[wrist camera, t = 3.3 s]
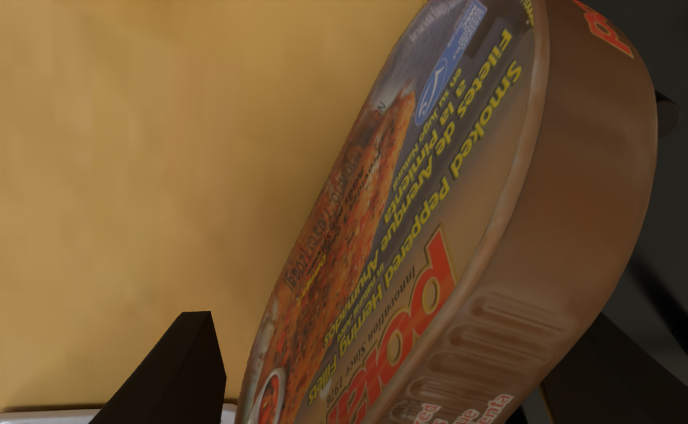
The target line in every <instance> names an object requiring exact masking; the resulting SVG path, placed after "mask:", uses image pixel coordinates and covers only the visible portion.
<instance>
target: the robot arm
mask: <svg viewBox="0 0 688 424" xmlns="http://www.w3.org/2000/svg"><path fill="white" fill-rule="evenodd" d="M226 379H227V377H226V373H225V369H224V365H223V361H222V357H221V352H220V348H219V344H218V340H217V336H216V332H215V328H214V323H213V319H212V315H211V311H199V312H182V313H181V314H180V315H179V316H178V317H177V318H176V320H175V321H174V322H173V323H172V325H171V326H170V327H169V328H168V330H167V331H166V332H165V334H164V335H163V336H162V337H161V339H160V340H159V341H158V342H157V344H156V345H155V346H154V348H153V349H152V350H151V351H150V352H149V354H148V355H147V356H146V357H145V359H144V360H143V361H142V362H141V364H140V365H139V366H138V367H137V368H136V370H135V371H134V372H133V373H132V374H131V376H130V377H129V378H128V379H127V380H126V381H125V383H124V384H123V385H122V386H121V387H120V389H119V390H118V391H117V392H116V393H115V394H114V396H113V397H112V398H111V399H110V400H109V401H108V402H107V403H106V404H105V405H104V407H103V408H102V409H82V410H58V411H34V412H10V413H0V424H234V420H235V414H236V409H237V405H234V404H229V403H226V404H223V402H224V394H225V386H226ZM543 380H544V384H545V387H546V391H547V394H548V398H549V401H550V404H551V408H552V411H553V413H554V416H555V418H556V421H557V423H558V424H688V386H686V385H685V384H684V383H683V382H682V381H680V380H679V379H678V378H677V377H675V376H674V375H673V374H672V373H671V372H669V371H668V370H667V369H666V368H665V367H663V366H662V365H661V364H660V363H659V362H657V361H656V360H655V359H654V358H653V357H652V356H650V355H649V354H648V353H647V352H646V351H645V350H644V349H642V348H641V347H640V346H639V345H638V344H637V343H636V342H634V341H633V340H632V339H631V338H630V337H629V336H628V335H627V334H625V333H624V332H623V331H622V330H621V329H620V328H619V327H618V326H617V325H615V324H614V323H613V322H612V321H611V320H610V319H609V318H608V317H607V316H606V315H604V314H603V313H602V312H600V313H599V315H598V316H597V318H596V319H595V320H594V322H593V323H592V325H591V326H590V327H589V328H588V329H587V331H586V332H585V333H584V334H583V335H582V337H581V338H580V339H579V340H578V341H577V343H576V344H575V345H574V346H573V347H572V348H571V350H570V351H569V352H568V353H567V354H566V355H565V356H564V358H563V359H562V360H561V361H560V362H559V363H558V364H557V365H556V366H555V367H554V368H553V369H552V370H551V371H550V373H549V374H548V375H547V376H546V377H545V378H544V379H543Z"/></svg>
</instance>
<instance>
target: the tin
mask: <svg viewBox="0 0 688 424" xmlns="http://www.w3.org/2000/svg"><path fill="white" fill-rule="evenodd" d="M657 145H658V117H657V104H656V98H655V91H654V86H653V83H652V80H651V78H650V75H649V72H648V69H647V67H646V65H645V63H644V61H643V60H642V58H641V56H640V55H639V53H638V51H637V50H636V48H635V47H634V46H633V45H632V43H631V42H630V41H629V40H628V38H627V37H626V36H625V34H624V33H623V32H622V31H621V30H620V29H619V28H618V27H617V26H616V25H615V24H614V23H612V22H611V21H610V20H609V19H608V18H606V17H604V16H603V15H601V14H600V13H598V12H596V11H595V10H593V9H591V8H590V7H588V6H586V5H585V4H583V3H581V2H579V1H577V0H429V1H428V2H427V3H426V4H425V5H424V6H423V7H422V8H421V9H420V11H419V12H418V13H417V15H416V16H415V17H414V19H413V20H412V21H411V23H410V24H409V26H408V27H407V28H406V30H405V31H404V33H403V34H402V36H401V37H400V39H399V40H398V42H397V44H396V45H395V47H394V48H393V50H392V52H391V53H390V55H389V57H388V59H387V61H386V63H385V65H384V66H383V68H382V70H381V71H380V73H379V75H378V77H377V79H376V81H375V83H374V85H373V87H372V89H371V91H370V93H369V95H368V97H367V99H366V101H365V103H364V104H363V106H362V109H361V111H360V113H359V115H358V117H357V119H356V121H355V123H354V125H353V127H352V129H351V131H350V133H349V135H348V137H347V139H346V142H345V144H344V146H343V148H342V150H341V152H340V154H339V156H338V158H337V160H336V162H335V164H334V166H333V168H332V171H331V173H330V175H329V177H328V179H327V180H326V183H325V185H324V187H323V189H322V191H321V193H320V195H319V197H318V199H317V201H316V203H315V205H314V207H313V209H312V211H311V213H310V215H309V217H308V219H307V221H306V223H305V225H304V227H303V229H302V231H301V233H300V235H299V237H298V239H297V241H296V243H295V246H294V248H293V250H292V252H291V254H290V256H289V258H288V260H287V262H286V264H285V266H284V268H283V270H282V272H281V274H280V276H279V278H278V280H277V282H276V285H275V287H274V289H273V291H272V293H271V296H270V298H269V301H268V303H267V305H266V309H265V312H264V314H263V317H262V320H261V322H260V325H259V328H258V331H257V334H256V337H255V339H254V343H253V346H252V349H251V352H250V356H249V359H248V362H247V367H246V371H245V374H244V378H243V381H242V386H241V391H240V395H239V399H238V404H237V409H236V414H235V420H234V424H504V423H505V421H506V420H507V419H508V418H509V417H510V416H511V415H512V414H513V413H514V411H515V410H516V409H517V408H518V407H519V406H520V405H521V404H522V403H523V401H524V400H525V399H526V398H527V397H528V396H529V395H530V394H531V393H532V392H533V391H534V389H535V388H536V387H537V386H538V385H539V384H540V383H541V382H542V381H543V379H544V378H545V377H546V376H547V375H548V374H549V373H550V371H551V370H552V369H553V368H554V367H555V366H556V365H557V364H558V363H559V362H560V361H561V360H562V359H563V358H564V356H565V355H566V354H567V353H568V352H569V351H570V350H571V348H572V347H573V346H574V345H575V344H576V343H577V341H578V340H579V339H580V338H581V337H582V335H583V334H584V333H585V332H586V331H587V329H588V328H589V327H590V326H591V325H592V323H593V322H594V320H595V319H596V318H597V316H598V315H599V313H600V312H601V310H602V309H603V307H604V306H605V304H606V303H607V301H608V299H609V298H610V296H611V295H612V293H613V291H614V289H615V287H616V285H617V283H618V281H619V279H620V277H621V275H622V273H623V271H624V269H625V268H626V266H627V263H628V261H629V259H630V256H631V254H632V252H633V249H634V247H635V244H636V241H637V239H638V236H639V234H640V231H641V228H642V225H643V222H644V218H645V215H646V212H647V208H648V205H649V200H650V195H651V190H652V184H653V179H654V174H655V169H656V163H657Z"/></svg>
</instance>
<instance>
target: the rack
mask: <svg viewBox="0 0 688 424" xmlns="http://www.w3.org/2000/svg"><path fill="white" fill-rule="evenodd" d="M577 1H579V2H581V3H583V4H585V5H586V6H588V7H590V8H591V9H593V10H595V11H596V12H598V13H600V14H601V15H603V16H604V17H606V18H608V19H609V20H610V21H611V22H612V23H614V24H615V25H616V26H617V27H618V28H619V29H620V30H621V31H622V32H623V33H624V34H625V36H626V37H627V38H628V40H629V41H630V42H631V43H632V45H633V46H634V47H635V48H636V50H637V51H638V53H639V55H640V56H641V58H642V60H643V61H644V63H645V65H646V67H647V69H648V72H649V75H650V78H651V80H652V83H653V86H654V91H655V98H656V104H657V117H658V145H657V163H656V169H655V174H654V179H653V184H652V190H651V195H650V200H649V205H648V208H647V212H646V215H645V218H644V222H643V225H642V228H641V231H640V234H639V236H638V239H637V241H636V244H635V247H634V249H633V252H632V254H631V256H630V259H629V261H628V263H627V266H626V268H625V269H624V271H623V273H622V275H621V277H620V279H619V281H618V283H617V285H616V287H615V289H614V291H613V293H612V295H611V296H610V298H609V299H608V301H607V303H606V304H605V306H604V307H603V309H602V310H601V312H602V313H603V314H604V315H606V316H607V317H608V318H609V319H610V320H611V321H612V322H613V323H614V324H615V325H617V326H618V327H619V328H620V329H621V330H622V331H623V332H624V333H625V334H627V335H628V336H629V337H630V338H631V339H632V340H633V341H634V342H636V343H637V344H638V345H639V346H640V347H641V348H642V349H644V350H645V351H646V352H647V353H648V354H649V355H650V356H652V357H653V358H654V359H655V360H656V361H657V362H659V363H660V364H661V365H662V366H663V367H665V368H666V369H667V370H668V371H669V372H671V373H672V374H673V375H674V376H675V377H677V378H678V379H679V380H680V381H682V382H683V383H684V384H685V385H686V386H688V0H577ZM504 424H558V423H557V421H556V418H555V416H554V413H553V411H552V408H551V404H550V401H549V398H548V394H547V391H546V387H545V384H544V380H543V381H542V382H541V383H540V384H539V385H538V386H537V387H536V388H535V389H534V391H533V392H532V393H531V394H530V395H529V396H528V397H527V398H526V399H525V400H524V401H523V403H522V404H521V405H520V406H519V407H518V408H517V409H516V410H515V411H514V413H513V414H512V415H511V416H510V417H509V418H508V419H507V420H506V421H505V423H504Z"/></svg>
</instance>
